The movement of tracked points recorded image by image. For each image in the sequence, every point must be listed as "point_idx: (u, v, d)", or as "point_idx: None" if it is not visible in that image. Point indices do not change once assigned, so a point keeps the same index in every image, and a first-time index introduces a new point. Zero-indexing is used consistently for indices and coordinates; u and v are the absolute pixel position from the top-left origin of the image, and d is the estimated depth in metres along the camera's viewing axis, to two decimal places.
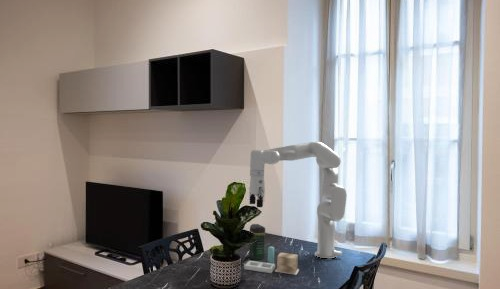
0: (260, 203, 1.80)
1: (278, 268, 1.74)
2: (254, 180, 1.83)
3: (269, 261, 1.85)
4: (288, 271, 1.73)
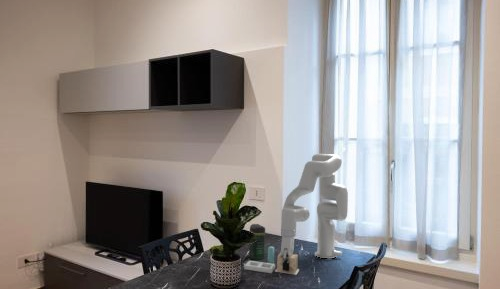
0: None
1: (278, 268, 1.74)
2: (293, 238, 1.78)
3: (269, 261, 1.85)
4: (288, 271, 1.73)
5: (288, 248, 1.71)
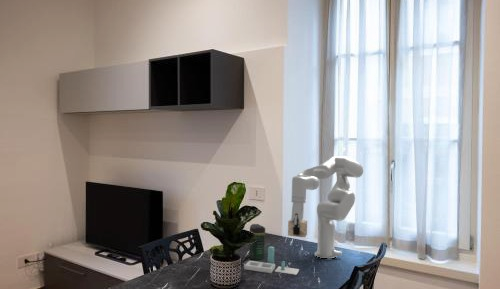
0: None
1: (289, 233, 1.85)
2: (303, 205, 1.88)
3: (269, 261, 1.85)
4: (299, 235, 1.83)
5: (298, 213, 1.82)
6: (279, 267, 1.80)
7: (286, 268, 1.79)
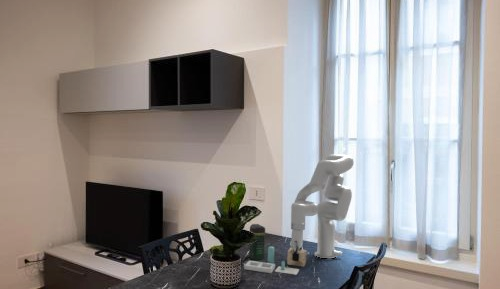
0: None
1: (288, 262, 1.85)
2: None
3: (269, 261, 1.85)
4: (298, 265, 1.83)
5: (298, 240, 1.82)
6: (279, 267, 1.80)
7: (286, 268, 1.79)
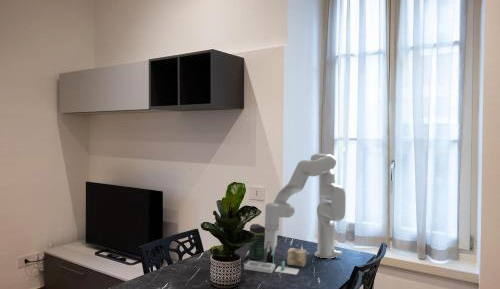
0: None
1: (288, 262, 1.85)
2: None
3: None
4: (298, 265, 1.83)
5: (271, 241, 1.81)
6: (279, 267, 1.80)
7: (286, 268, 1.79)
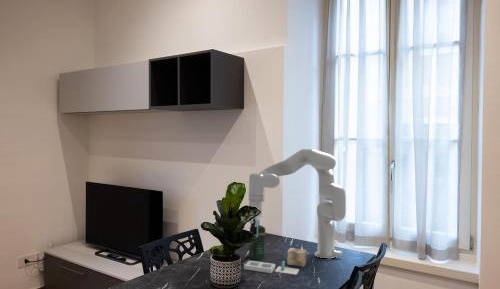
0: None
1: (288, 262, 1.85)
2: (261, 204, 1.80)
3: None
4: (298, 265, 1.83)
5: None
6: (279, 267, 1.80)
7: (286, 268, 1.79)
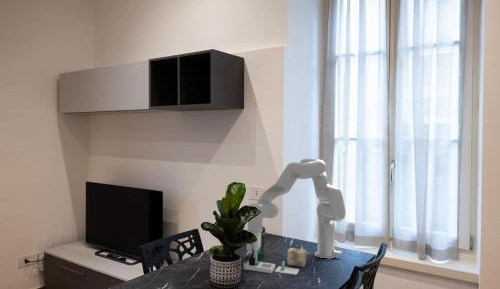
0: None
1: (288, 262, 1.85)
2: (260, 234, 1.80)
3: None
4: (298, 265, 1.83)
5: (254, 243, 1.74)
6: (279, 267, 1.80)
7: (286, 268, 1.79)
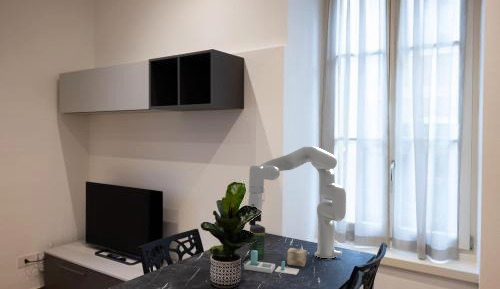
0: None
1: (288, 262, 1.85)
2: (261, 196, 1.80)
3: None
4: (298, 265, 1.83)
5: (255, 204, 1.74)
6: (279, 267, 1.80)
7: (286, 268, 1.79)
